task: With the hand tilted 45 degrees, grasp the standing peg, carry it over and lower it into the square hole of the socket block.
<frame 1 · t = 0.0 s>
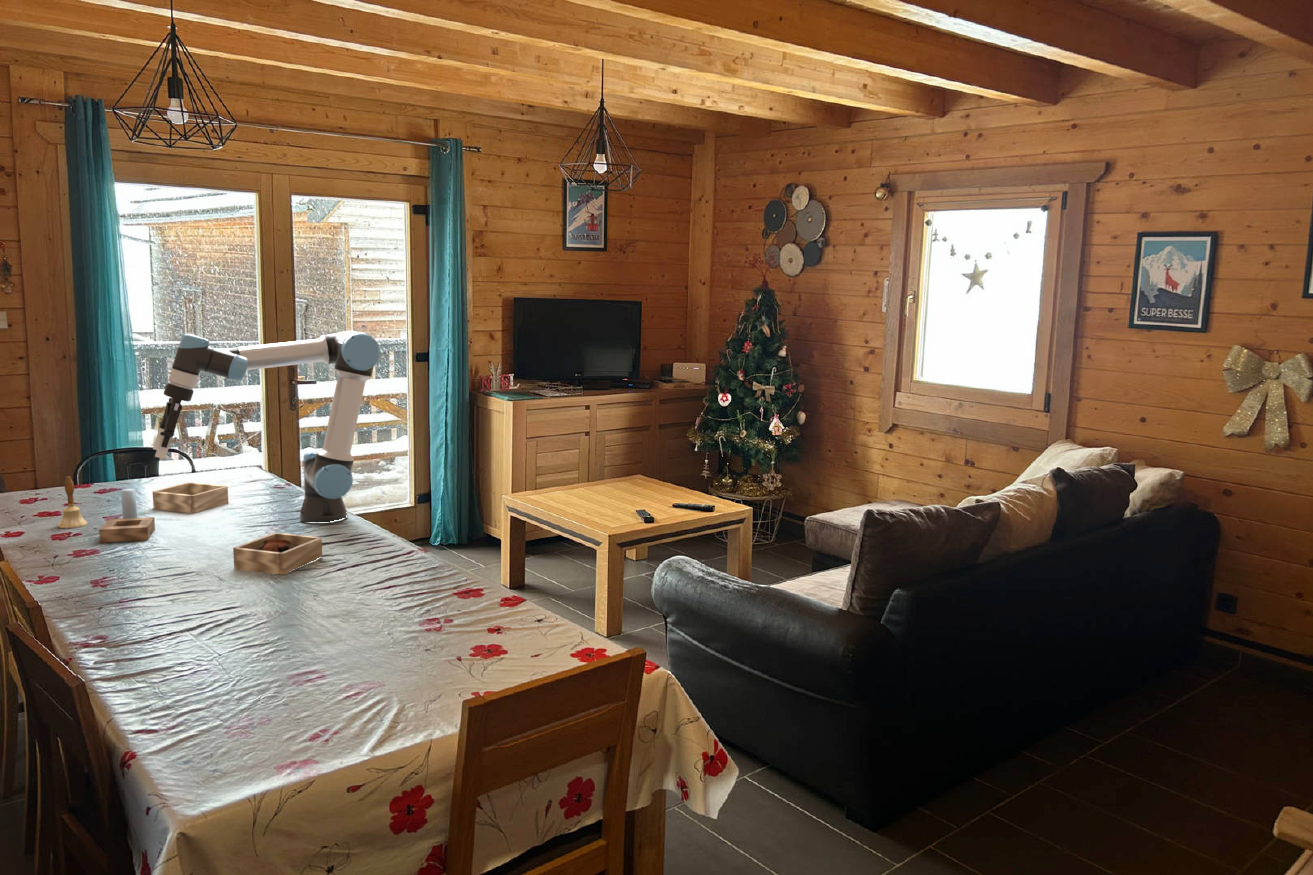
hand: (158, 453, 286), 28 cm above the table, tool tilted 20°, fingers open, 13 cm apart
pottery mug: (279, 564, 275), resting in mug caddy
hand bell: (72, 525, 310), on the table
mug caddy: (279, 563, 275), on the table
duck caddy: (191, 505, 339), on the table
peg: (130, 526, 310), on the table
socket: (128, 535, 299), on the table
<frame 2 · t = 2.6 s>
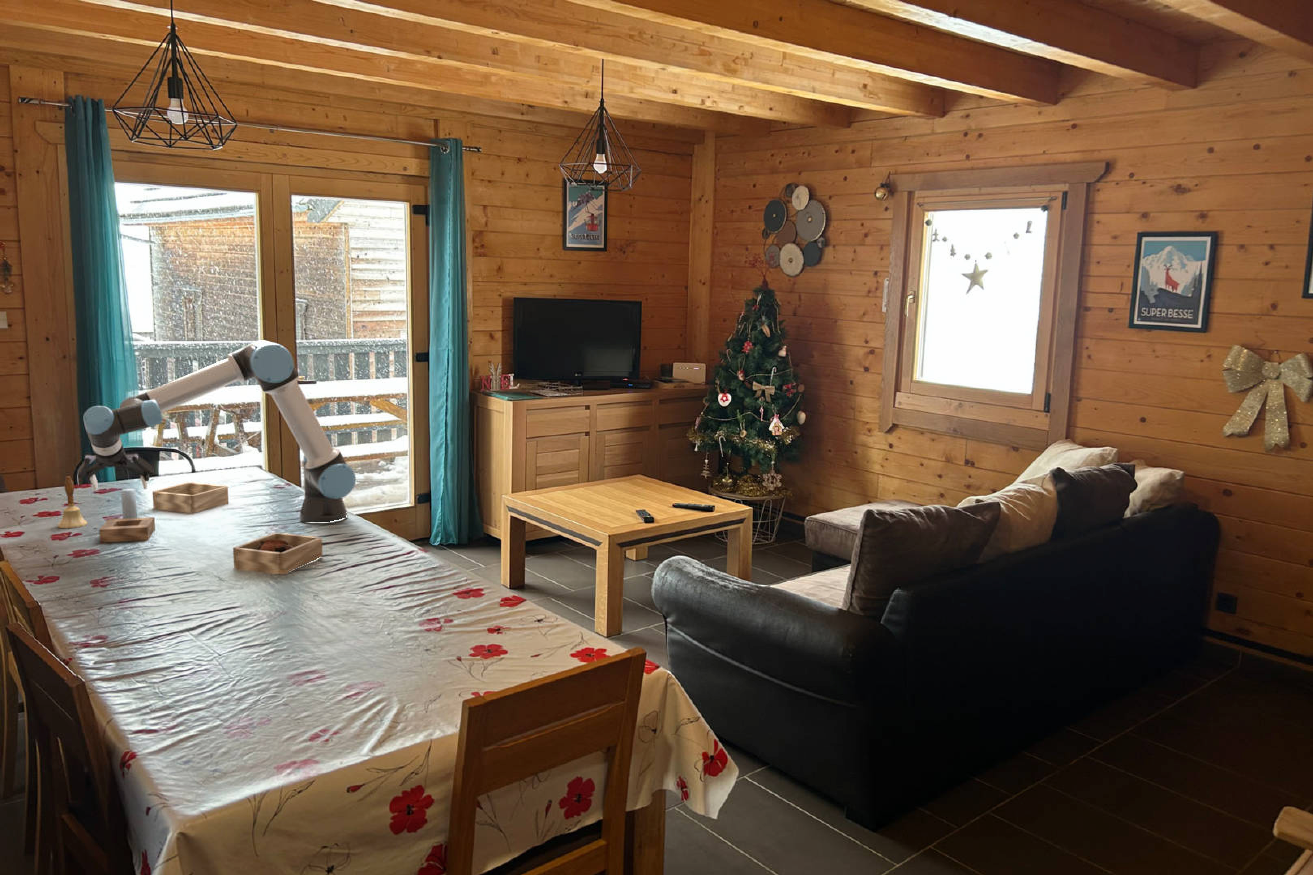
hand: (121, 486, 298), 15 cm above the table, tool tilted 45°, fingers open, 13 cm apart
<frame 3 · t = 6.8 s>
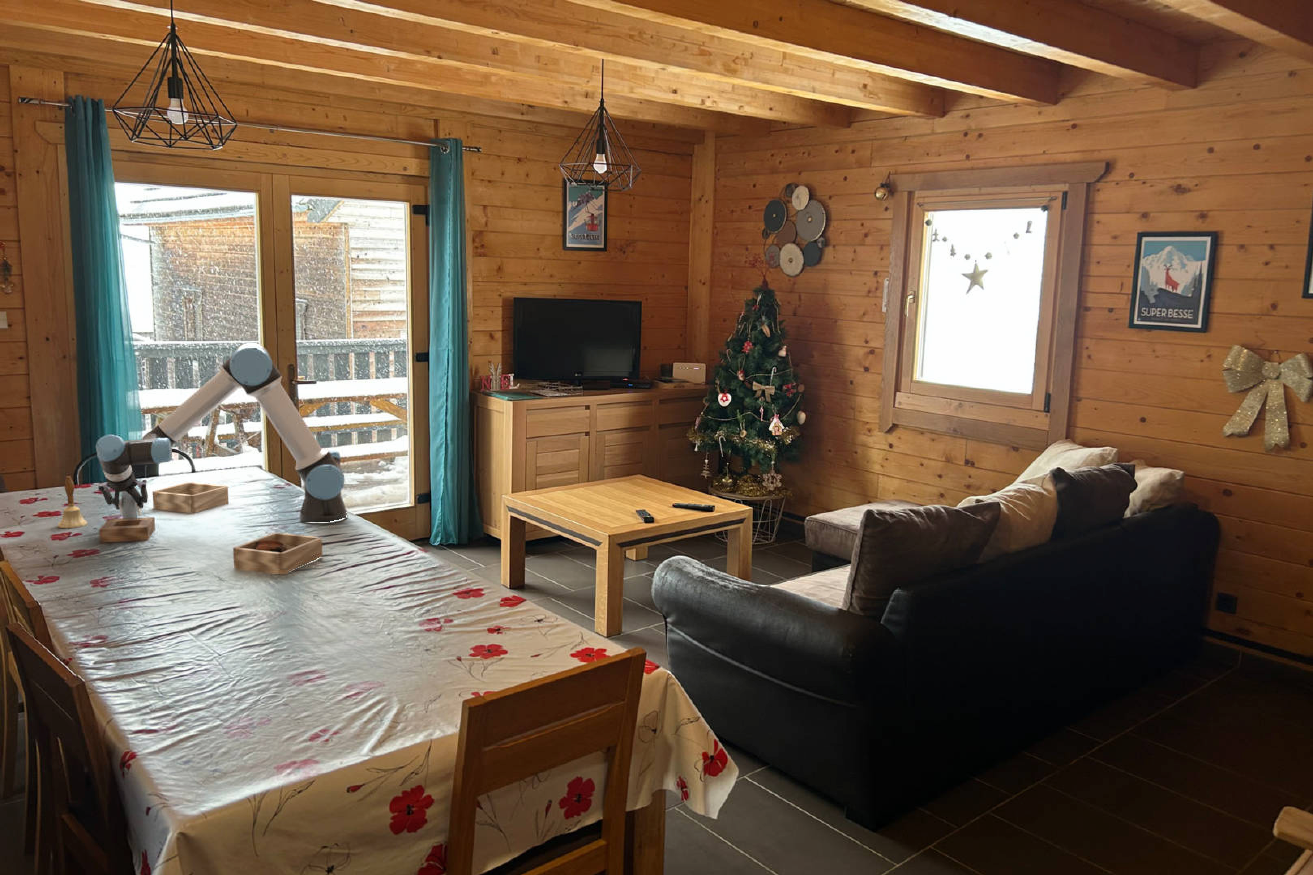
hand: (132, 512, 313), 4 cm above the table, tool tilted 45°, fingers closed on peg, 4 cm apart
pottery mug: (271, 565, 274), resting in mug caddy
peg: (130, 526, 310), on the table, touching gripper
everything else where it was.
when the fingers open (6 cm above the table, at t = 11.8 s): peg drops 2 cm, resting in socket.
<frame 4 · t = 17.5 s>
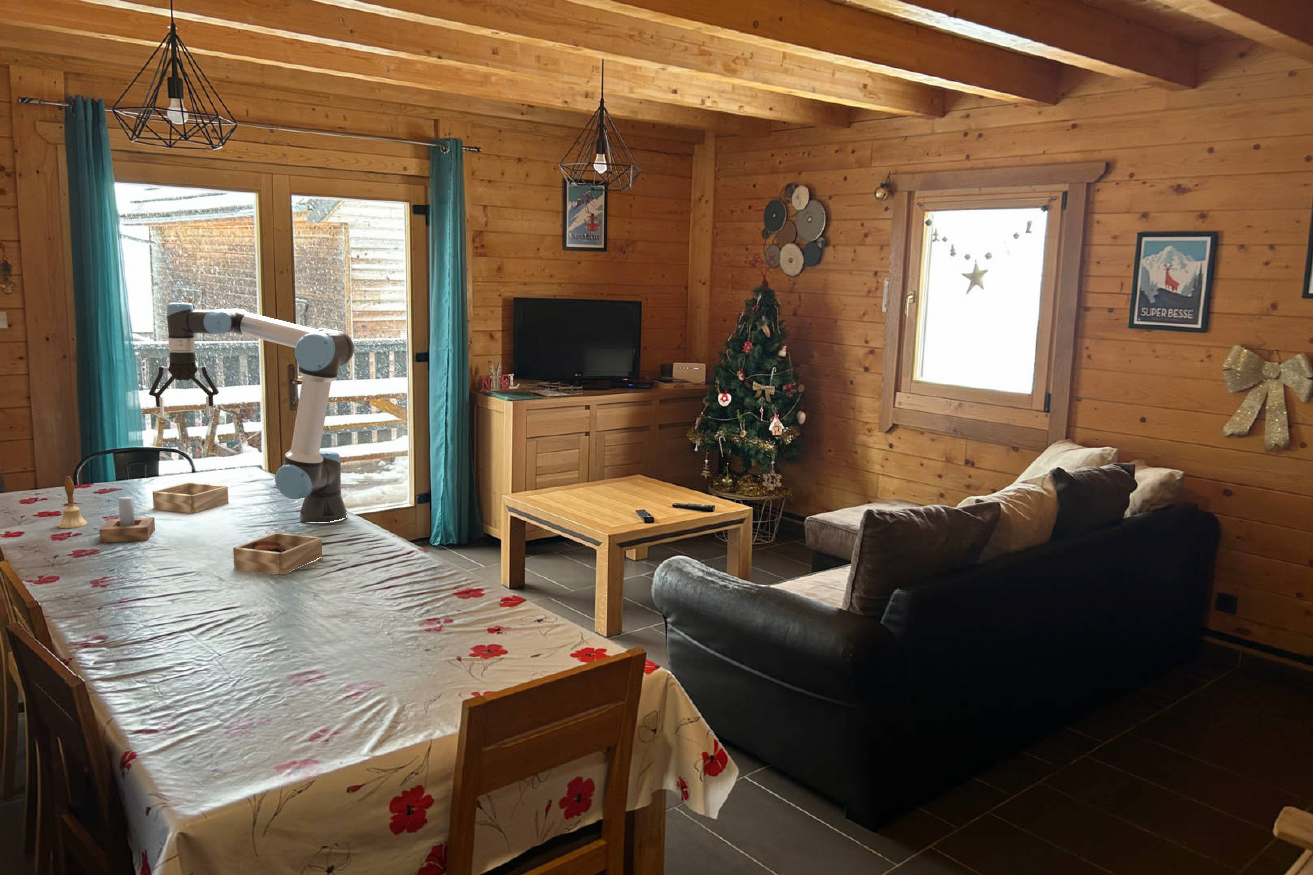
hand: (185, 416, 314), 35 cm above the table, tool pointing down, fingers open, 13 cm apart
peg: (128, 535, 299), resting in socket
at the end: peg 0.0 cm off-centre on the socket, point 0.0 cm above the socket's base; peg tilted 0°; the gripper is holding nothing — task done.
